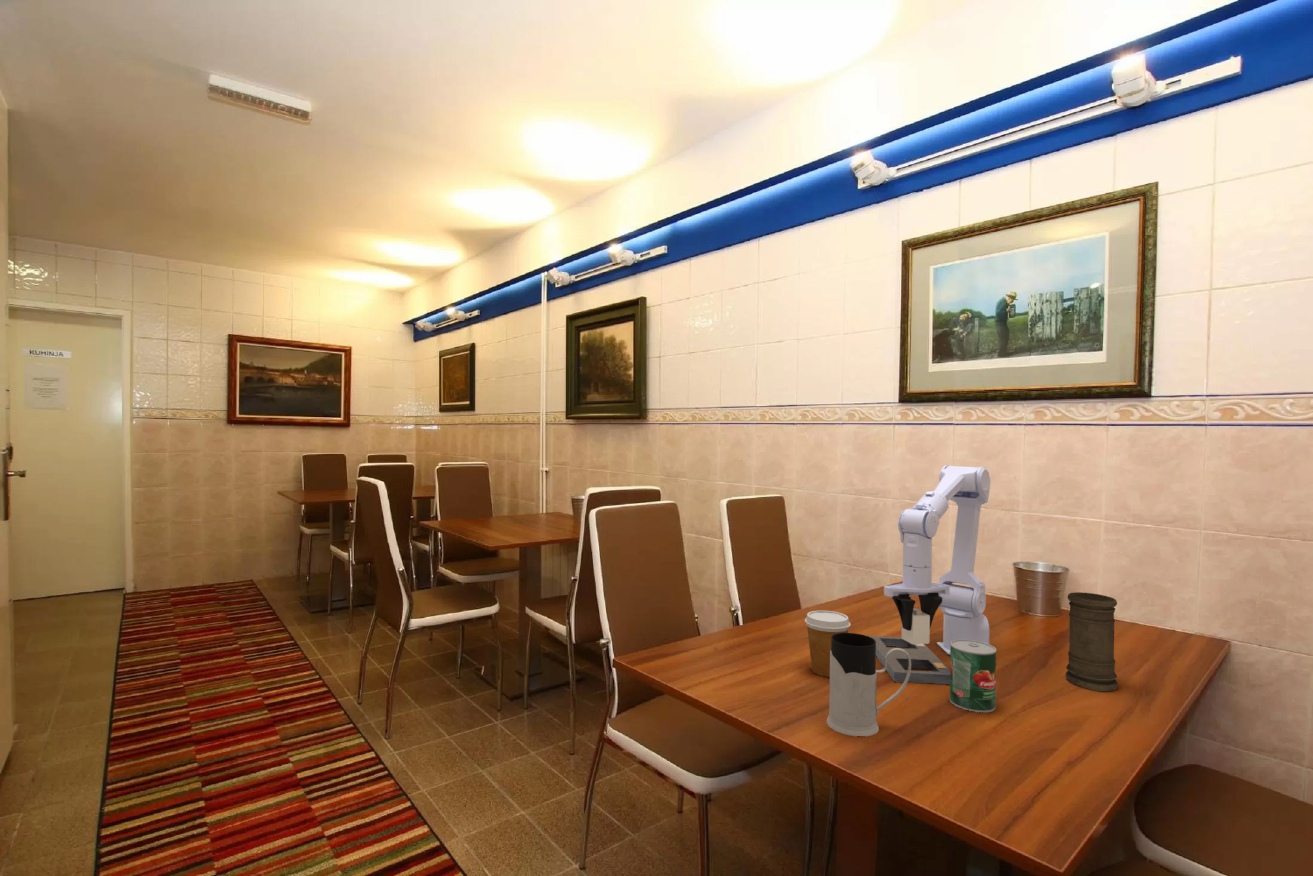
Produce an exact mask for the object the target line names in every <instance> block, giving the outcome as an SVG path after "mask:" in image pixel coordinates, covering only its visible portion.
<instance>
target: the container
mask: <svg viewBox="0 0 1313 876" xmlns="http://www.w3.org/2000/svg"><path fill="white" fill-rule="evenodd" d="M1067 599H1068V601H1069V602H1068V605H1069V613H1068V616H1069V628H1068V629H1069V638H1068V639H1069V643H1068V645H1069V646H1068V647H1069V648H1068V653H1067V655H1068V664H1067V665H1066V667H1065V668H1066V670H1067V671H1066V672H1065V677H1066V680H1067V681H1068V683H1069V682H1070V684H1071V683H1072V684H1073V685H1074V686H1077V687H1080V688H1084V689H1087V690H1091V691H1097V692H1113V691H1115V690H1117V689H1118V686H1119V684H1118V681H1117V678H1118V676H1117V674H1116V672H1115V664H1116V660H1115V622H1116V620H1115V611H1116V608H1115V607H1116V606H1117V605H1118V601H1117V599H1115V598H1114V597H1112V596H1108V595H1103V594H1099V593H1092V592H1082V591H1080V592H1079V591H1077V592H1075V591H1073V592H1070V593H1068V595H1067Z"/></svg>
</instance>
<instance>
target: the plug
mask: <svg viewBox="0 0 1313 876" xmlns="http://www.w3.org/2000/svg"><path fill="white" fill-rule="evenodd" d="M930 631H931V628H930V615H928V614H926V613H923V612H922V611H921V609H918V608H916V607H914V608H913V613H912V627H911V630H909V631H908V630H906V629H904V628H903V626H902V625H901V637H902V639H903V640H905V641H907V642H909V643H911V644H925V645H927V644H930V638H931V637H930V633H931V632H930Z"/></svg>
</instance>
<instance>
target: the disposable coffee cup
mask: <svg viewBox="0 0 1313 876" xmlns="http://www.w3.org/2000/svg"><path fill="white" fill-rule="evenodd" d="M804 622H805V625H806V627H807V636H808V637H807V638H808V645H809V655H810V664H811V672H813V673H814V674H815V675H818V676H820V677H821V676H822V677H828V678H830V651H831V637H832V635H834V634H838V633H849V629H850V626H851V622H850V619H849V616H848V615H846V614H844V613H841V612H839V611H833V610H832V611H831V610H813V611H809V612H807V613H806V618H804Z"/></svg>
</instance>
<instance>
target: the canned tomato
mask: <svg viewBox="0 0 1313 876" xmlns="http://www.w3.org/2000/svg"><path fill="white" fill-rule="evenodd" d="M950 645H951V649H950V655H949V657H950V658H949V659H950V660H949V662H950V663H949V670H950V685H949V701H950V703H951V704H952V705H953V704H954V705H953V706H955V707H956V708H959V709H961V708H962V709H961V710H964V711H967V710H969V711H968V712H971V711H975V712H974V713H979V712H981V713H980V714H982V712H983V714H988V713H992V712H994V711H995V710H996V709H997V707H996V703H997V701H996V700H997V696H996V695H997V693H996V691H997V680H996V679H997V648H996V647H995V646H993V645H992V644H990V643H989V644H987V643H983V642H979V641H974V640H954V641H952V642H951V643H950Z"/></svg>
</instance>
